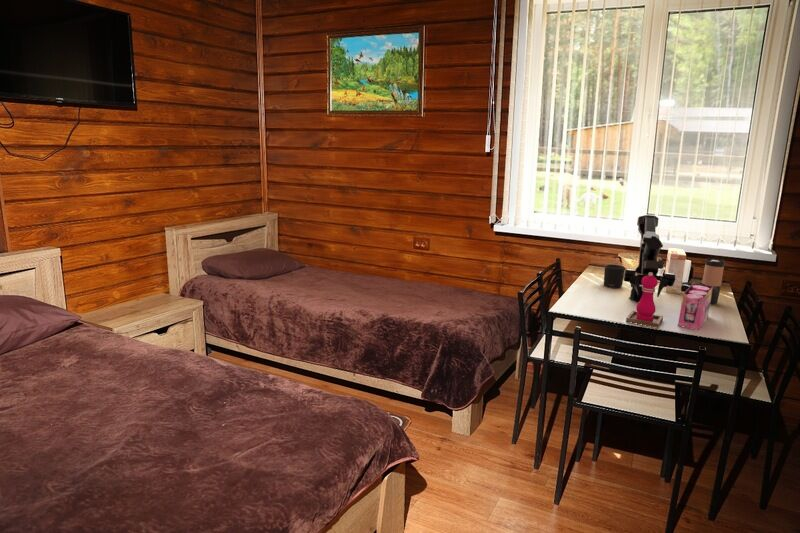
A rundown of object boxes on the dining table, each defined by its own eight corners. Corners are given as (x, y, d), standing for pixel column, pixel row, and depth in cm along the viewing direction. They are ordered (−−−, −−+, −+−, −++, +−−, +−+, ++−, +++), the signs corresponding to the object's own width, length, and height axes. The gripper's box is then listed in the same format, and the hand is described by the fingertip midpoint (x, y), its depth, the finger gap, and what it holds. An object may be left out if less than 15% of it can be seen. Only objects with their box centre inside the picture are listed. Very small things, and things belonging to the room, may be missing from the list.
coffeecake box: (662, 284, 286) (668, 247, 281) (678, 286, 283) (683, 249, 279) (664, 292, 272) (670, 253, 268) (680, 294, 270) (686, 254, 265)
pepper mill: (657, 322, 224) (664, 274, 220) (641, 322, 223) (647, 274, 219) (647, 316, 231) (653, 269, 227) (631, 317, 230) (637, 269, 226)
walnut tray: (631, 314, 235) (632, 310, 235) (662, 320, 229) (663, 316, 229) (625, 322, 225) (626, 317, 225) (657, 328, 219) (658, 324, 219)
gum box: (698, 331, 217) (704, 298, 214) (676, 327, 222) (681, 294, 219) (708, 316, 236) (713, 286, 233) (687, 312, 241) (692, 282, 237)
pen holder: (598, 284, 283) (600, 265, 280) (612, 282, 287) (614, 263, 284) (612, 289, 275) (615, 269, 272) (626, 287, 278) (629, 268, 276)
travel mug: (717, 301, 259) (724, 259, 255) (718, 305, 253) (725, 262, 248) (698, 298, 263) (705, 257, 258) (699, 303, 256) (706, 260, 251)
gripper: (627, 249, 227) (625, 282, 220) (678, 254, 221) (677, 288, 214) (624, 264, 236) (622, 296, 229) (672, 269, 231) (672, 302, 223)
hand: (648, 295), depth 223 cm, fingers open, 7 cm apart
